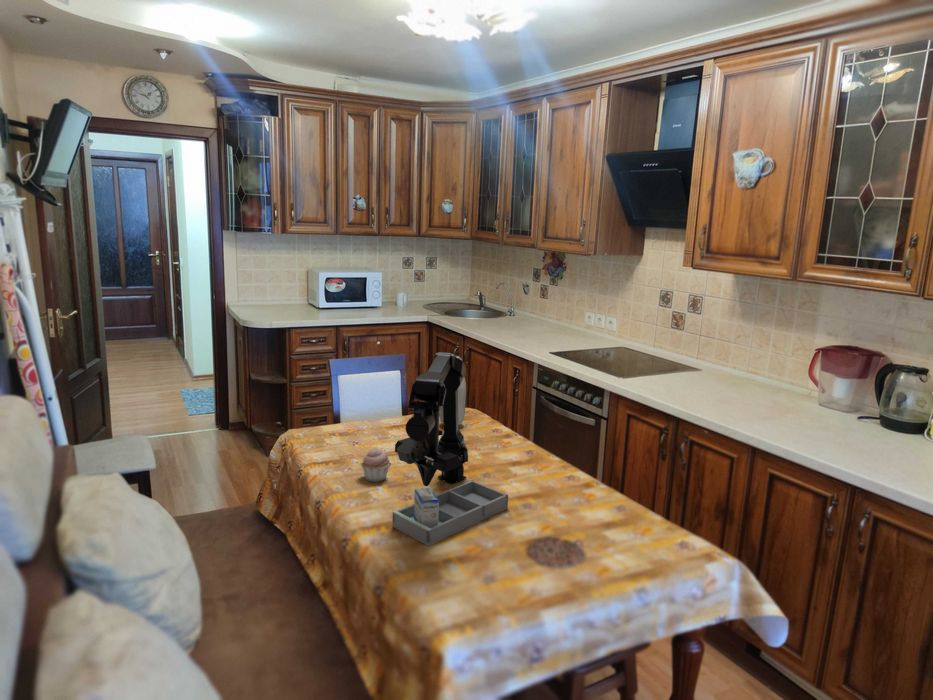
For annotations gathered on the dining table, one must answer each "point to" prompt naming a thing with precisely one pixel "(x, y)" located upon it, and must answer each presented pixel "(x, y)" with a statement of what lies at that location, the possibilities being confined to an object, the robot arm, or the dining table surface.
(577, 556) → the dining table surface
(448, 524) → the grey compartment tray
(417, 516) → the medicine box
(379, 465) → the cupcake
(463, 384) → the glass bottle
